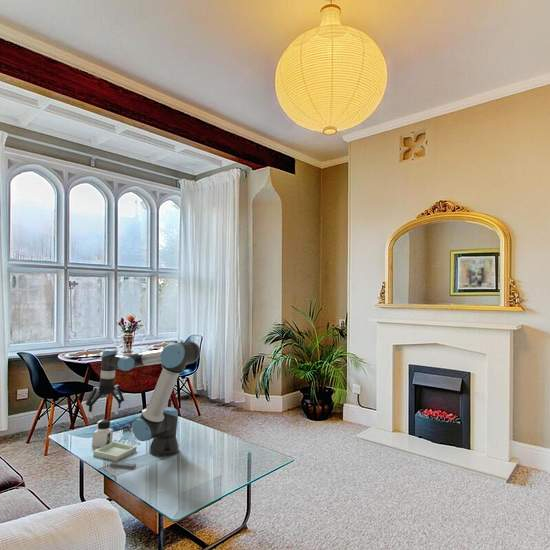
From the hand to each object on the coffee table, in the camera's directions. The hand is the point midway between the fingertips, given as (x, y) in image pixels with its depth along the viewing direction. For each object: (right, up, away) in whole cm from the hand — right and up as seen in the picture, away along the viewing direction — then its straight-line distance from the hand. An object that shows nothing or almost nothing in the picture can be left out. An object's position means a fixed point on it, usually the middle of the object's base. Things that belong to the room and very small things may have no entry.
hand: (104, 416), depth 226 cm
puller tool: (+20, -16, -26) cm, 36 cm away
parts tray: (+10, -16, -11) cm, 22 cm away
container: (-1, -16, -1) cm, 16 cm away
